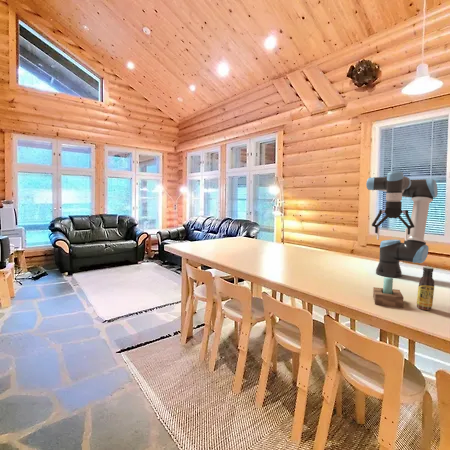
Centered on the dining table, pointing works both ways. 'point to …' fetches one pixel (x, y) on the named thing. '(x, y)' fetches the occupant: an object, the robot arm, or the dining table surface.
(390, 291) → the dowel
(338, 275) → the dining table surface
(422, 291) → the sauce bottle
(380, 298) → the socket block
